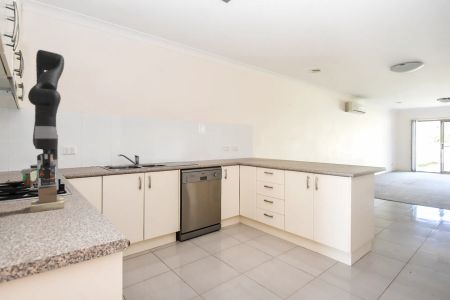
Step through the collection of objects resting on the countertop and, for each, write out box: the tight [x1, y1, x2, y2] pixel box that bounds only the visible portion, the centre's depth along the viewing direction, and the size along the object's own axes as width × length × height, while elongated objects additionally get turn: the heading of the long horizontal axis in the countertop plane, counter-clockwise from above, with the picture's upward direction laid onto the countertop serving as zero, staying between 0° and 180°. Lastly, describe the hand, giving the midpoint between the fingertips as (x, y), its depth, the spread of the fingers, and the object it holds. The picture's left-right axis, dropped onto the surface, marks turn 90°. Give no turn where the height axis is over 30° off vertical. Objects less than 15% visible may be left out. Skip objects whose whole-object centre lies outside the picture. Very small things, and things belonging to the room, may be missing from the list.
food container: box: [20, 167, 38, 187], centre depth 150 cm, size 12×6×10 cm, turn 21°
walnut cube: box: [37, 185, 58, 204], centre depth 101 cm, size 6×6×6 cm
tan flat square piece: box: [29, 197, 65, 213], centre depth 101 cm, size 10×11×3 cm
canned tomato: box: [29, 163, 38, 180], centre depth 167 cm, size 8×8×11 cm
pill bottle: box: [38, 158, 56, 186], centre depth 100 cm, size 6×6×11 cm
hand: (47, 177), depth 100 cm, fingers closed on pill bottle, 6 cm apart
